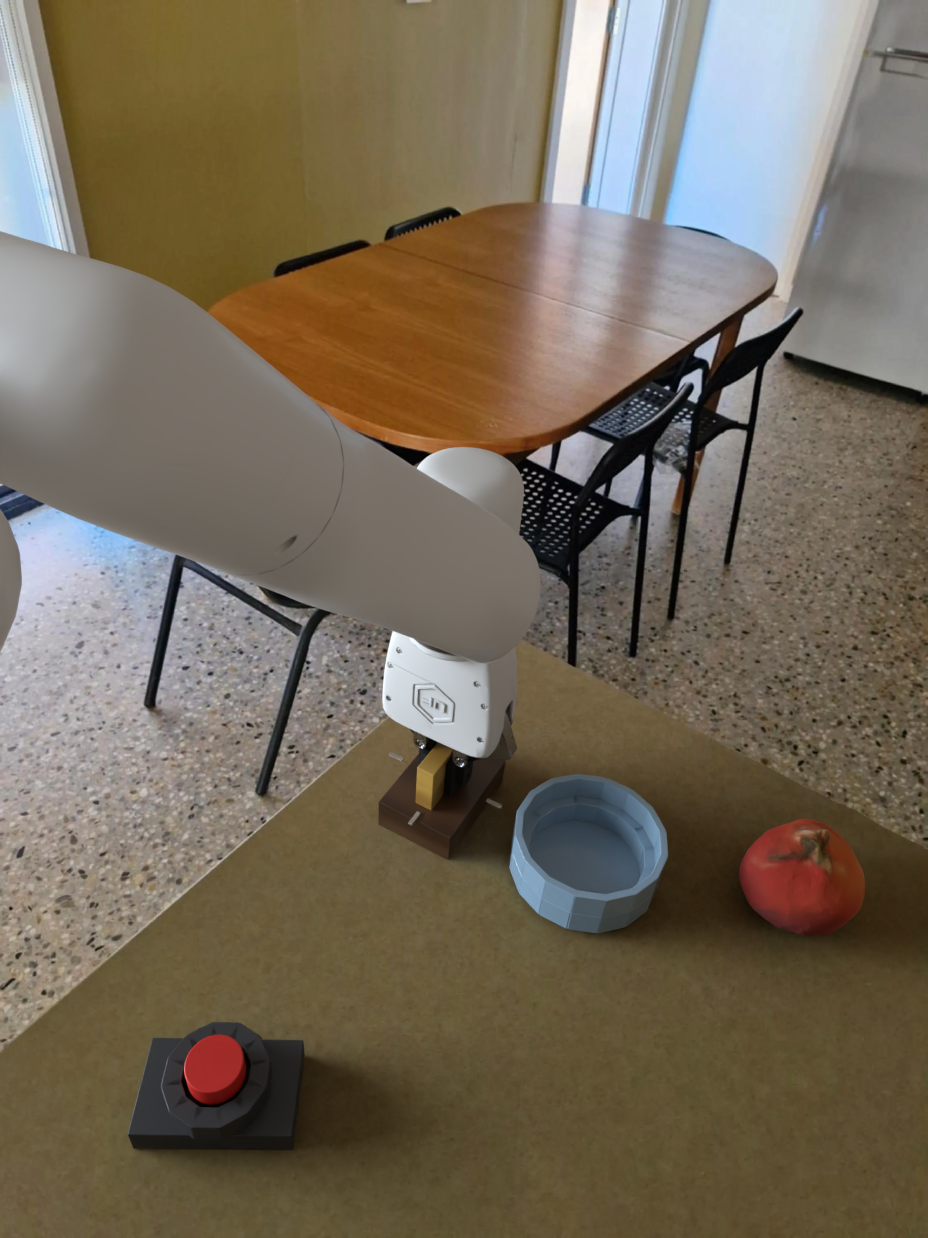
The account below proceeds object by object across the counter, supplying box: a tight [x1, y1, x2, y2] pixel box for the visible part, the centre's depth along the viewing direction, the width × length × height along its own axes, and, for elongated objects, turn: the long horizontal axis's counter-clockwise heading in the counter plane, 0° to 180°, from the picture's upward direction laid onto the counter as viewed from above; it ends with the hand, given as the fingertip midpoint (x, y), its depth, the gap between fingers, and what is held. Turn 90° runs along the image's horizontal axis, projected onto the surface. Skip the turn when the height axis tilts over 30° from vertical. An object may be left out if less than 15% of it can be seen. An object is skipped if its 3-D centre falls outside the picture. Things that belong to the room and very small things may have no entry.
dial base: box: [377, 751, 507, 861], centre depth 78 cm, size 11×11×3 cm
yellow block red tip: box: [416, 742, 454, 810], centre depth 75 cm, size 7×2×5 cm, turn 151°
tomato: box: [738, 818, 866, 937], centre depth 71 cm, size 9×9×8 cm
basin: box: [508, 773, 669, 934], centre depth 73 cm, size 12×12×5 cm
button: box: [184, 1035, 246, 1105], centre depth 56 cm, size 4×4×2 cm
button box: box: [127, 1021, 306, 1151], centre depth 57 cm, size 10×6×4 cm, turn 91°
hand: (444, 777), depth 77 cm, fingers closed on yellow block red tip
